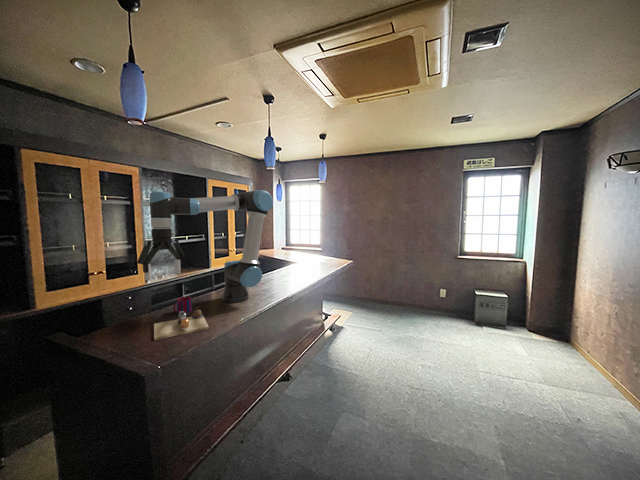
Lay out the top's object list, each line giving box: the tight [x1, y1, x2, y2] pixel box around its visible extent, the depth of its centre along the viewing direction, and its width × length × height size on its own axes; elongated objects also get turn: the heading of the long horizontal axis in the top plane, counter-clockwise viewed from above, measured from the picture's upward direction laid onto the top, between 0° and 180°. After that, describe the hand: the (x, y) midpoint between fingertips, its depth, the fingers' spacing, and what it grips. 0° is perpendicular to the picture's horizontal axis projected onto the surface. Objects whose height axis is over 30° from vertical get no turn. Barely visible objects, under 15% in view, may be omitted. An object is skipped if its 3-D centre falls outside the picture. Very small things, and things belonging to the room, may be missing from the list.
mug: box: [172, 296, 193, 314], centre depth 129 cm, size 7×10×7 cm
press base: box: [153, 309, 210, 341], centre depth 112 cm, size 20×16×5 cm
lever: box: [178, 311, 189, 329], centre depth 113 cm, size 3×16×4 cm, turn 33°
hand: (164, 276), depth 112 cm, fingers open, 13 cm apart
